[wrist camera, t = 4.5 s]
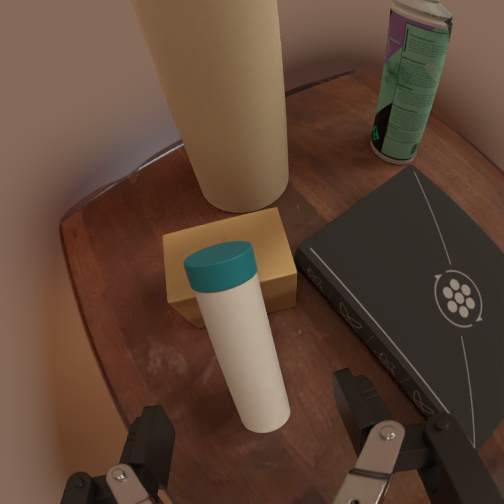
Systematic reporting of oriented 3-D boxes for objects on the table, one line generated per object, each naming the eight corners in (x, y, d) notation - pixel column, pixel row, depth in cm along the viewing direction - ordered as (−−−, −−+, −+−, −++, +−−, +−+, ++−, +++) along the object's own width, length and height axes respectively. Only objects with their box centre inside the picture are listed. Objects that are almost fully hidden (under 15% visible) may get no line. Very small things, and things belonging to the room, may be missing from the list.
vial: (294, 423, 19) (299, 444, 10) (246, 433, 19) (208, 460, 10) (262, 289, 24) (243, 210, 15) (219, 299, 24) (173, 227, 15)
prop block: (296, 306, 23) (297, 272, 18) (197, 329, 24) (167, 303, 18) (280, 251, 26) (276, 206, 20) (189, 273, 26) (162, 234, 20)
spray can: (414, 139, 31) (450, -13, 13) (415, 170, 28) (464, -2, 11) (371, 128, 32) (391, -30, 15) (368, 157, 30) (394, -24, 12)
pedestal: (269, 224, 27) (220, -79, 6) (185, 200, 30) (86, -34, 9) (300, 157, 31) (286, -78, 10) (224, 141, 33) (173, -62, 12)
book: (293, 265, 25) (293, 248, 22) (403, 182, 28) (410, 162, 25) (452, 456, 16) (470, 460, 13) (537, 332, 18) (555, 323, 16)
